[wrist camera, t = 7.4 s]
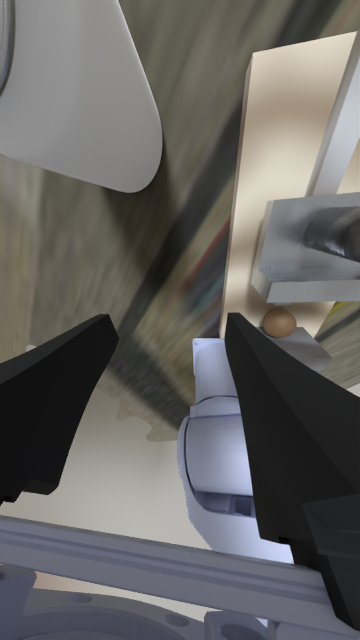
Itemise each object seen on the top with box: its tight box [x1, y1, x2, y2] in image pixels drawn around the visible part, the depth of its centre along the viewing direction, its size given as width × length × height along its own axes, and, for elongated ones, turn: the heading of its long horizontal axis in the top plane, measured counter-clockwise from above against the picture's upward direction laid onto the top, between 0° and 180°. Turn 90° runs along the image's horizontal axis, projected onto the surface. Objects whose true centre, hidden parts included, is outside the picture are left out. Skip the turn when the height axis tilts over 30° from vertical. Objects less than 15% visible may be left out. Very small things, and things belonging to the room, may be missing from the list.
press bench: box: [219, 28, 360, 371], centre depth 13 cm, size 22×12×6 cm, turn 4°
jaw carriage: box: [251, 192, 360, 303], centre depth 9 cm, size 6×8×7 cm
